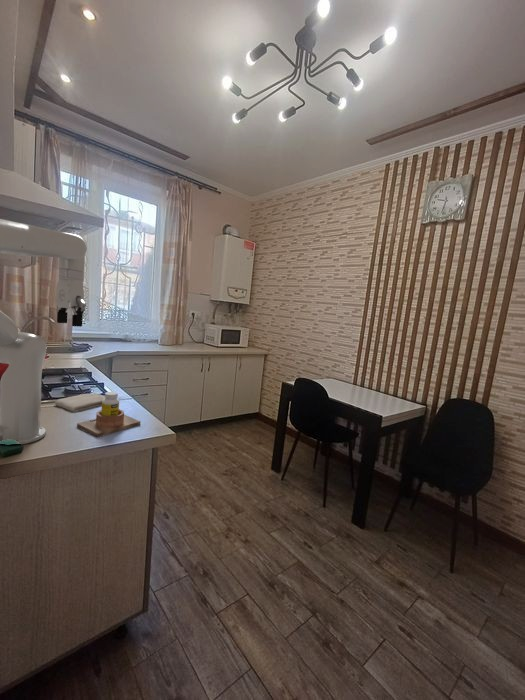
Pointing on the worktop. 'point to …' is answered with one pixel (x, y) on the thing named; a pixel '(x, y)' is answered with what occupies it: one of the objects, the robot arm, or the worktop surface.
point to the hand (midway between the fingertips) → (69, 324)
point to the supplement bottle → (110, 404)
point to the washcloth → (80, 402)
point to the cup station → (108, 424)
